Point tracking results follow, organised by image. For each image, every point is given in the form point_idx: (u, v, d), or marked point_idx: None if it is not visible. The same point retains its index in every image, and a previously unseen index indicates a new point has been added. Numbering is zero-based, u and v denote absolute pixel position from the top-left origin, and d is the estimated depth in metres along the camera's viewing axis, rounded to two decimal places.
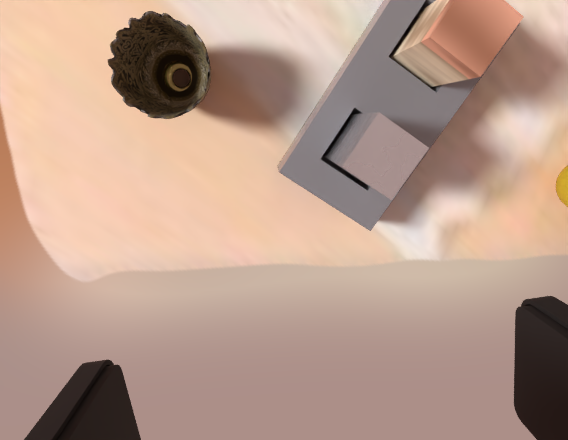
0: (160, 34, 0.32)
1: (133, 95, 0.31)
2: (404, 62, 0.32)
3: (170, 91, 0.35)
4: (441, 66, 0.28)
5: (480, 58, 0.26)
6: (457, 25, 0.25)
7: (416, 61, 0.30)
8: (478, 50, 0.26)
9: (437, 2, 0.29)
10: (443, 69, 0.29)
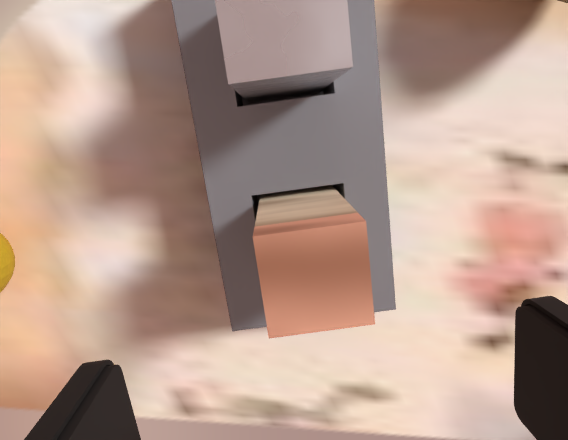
0: None
1: None
2: (319, 193, 0.22)
3: None
4: (295, 214, 0.18)
5: (275, 255, 0.15)
6: (342, 263, 0.15)
7: (315, 200, 0.20)
8: (287, 261, 0.15)
9: None
10: (288, 214, 0.18)
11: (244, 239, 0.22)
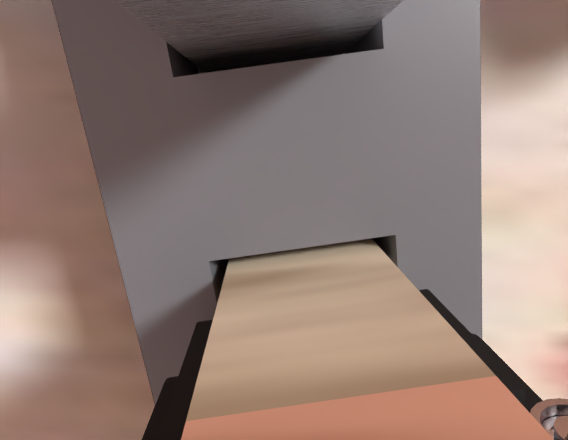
0: None
1: None
2: (347, 255, 0.11)
3: None
4: (305, 349, 0.07)
5: None
6: None
7: (345, 284, 0.09)
8: None
9: None
10: (287, 347, 0.07)
11: None
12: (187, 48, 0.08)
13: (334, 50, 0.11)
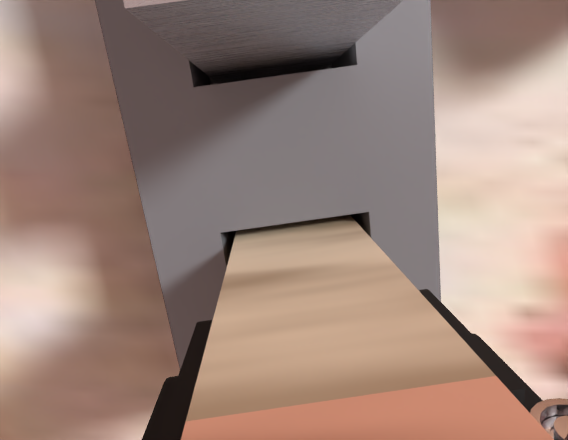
0: None
1: None
2: (347, 255, 0.11)
3: None
4: (305, 349, 0.07)
5: None
6: None
7: (345, 284, 0.09)
8: None
9: None
10: (287, 347, 0.07)
11: (210, 300, 0.14)
12: (206, 66, 0.11)
13: (320, 64, 0.14)
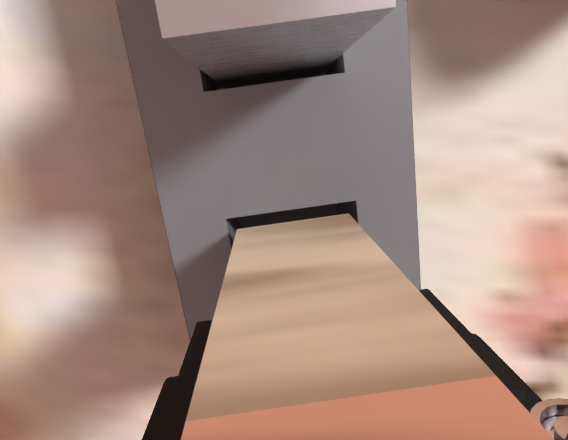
0: None
1: None
2: (347, 255, 0.11)
3: None
4: (305, 349, 0.07)
5: None
6: None
7: (345, 284, 0.09)
8: None
9: None
10: (287, 347, 0.07)
11: (217, 279, 0.16)
12: (215, 74, 0.13)
13: (314, 71, 0.16)
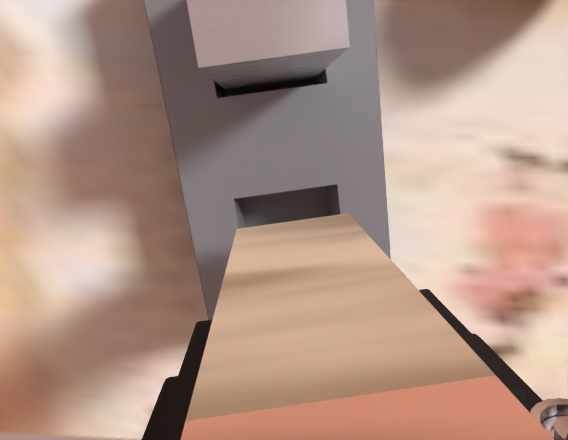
0: None
1: None
2: (346, 255, 0.11)
3: None
4: (304, 349, 0.07)
5: None
6: None
7: (345, 283, 0.09)
8: None
9: None
10: (286, 346, 0.07)
11: (226, 247, 0.20)
12: (226, 85, 0.17)
13: (304, 81, 0.20)
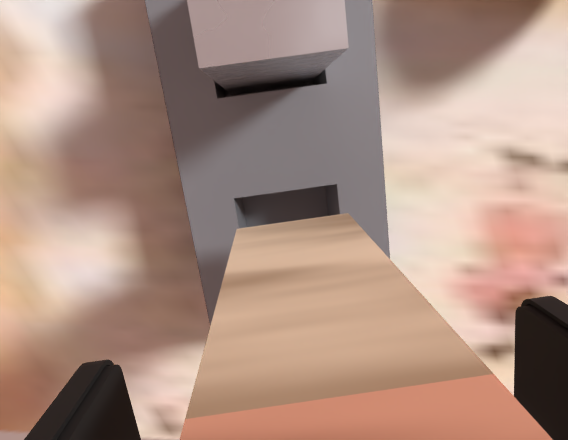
0: None
1: None
2: (346, 254, 0.11)
3: None
4: (304, 347, 0.07)
5: None
6: None
7: (344, 283, 0.09)
8: None
9: None
10: (286, 346, 0.07)
11: (226, 247, 0.20)
12: (227, 85, 0.17)
13: (304, 81, 0.20)
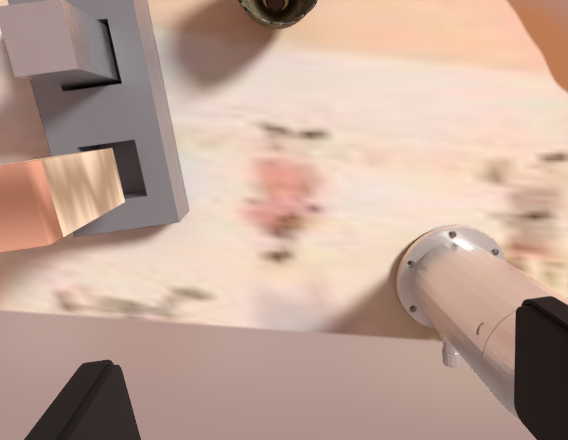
0: (304, 11, 0.34)
1: None
2: None
3: None
4: None
5: None
6: (12, 196, 0.20)
7: (51, 157, 0.24)
8: None
9: (84, 216, 0.25)
10: (4, 164, 0.22)
11: None
12: (62, 84, 0.32)
13: (119, 82, 0.35)
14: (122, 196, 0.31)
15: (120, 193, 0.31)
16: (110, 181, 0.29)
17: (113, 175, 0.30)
